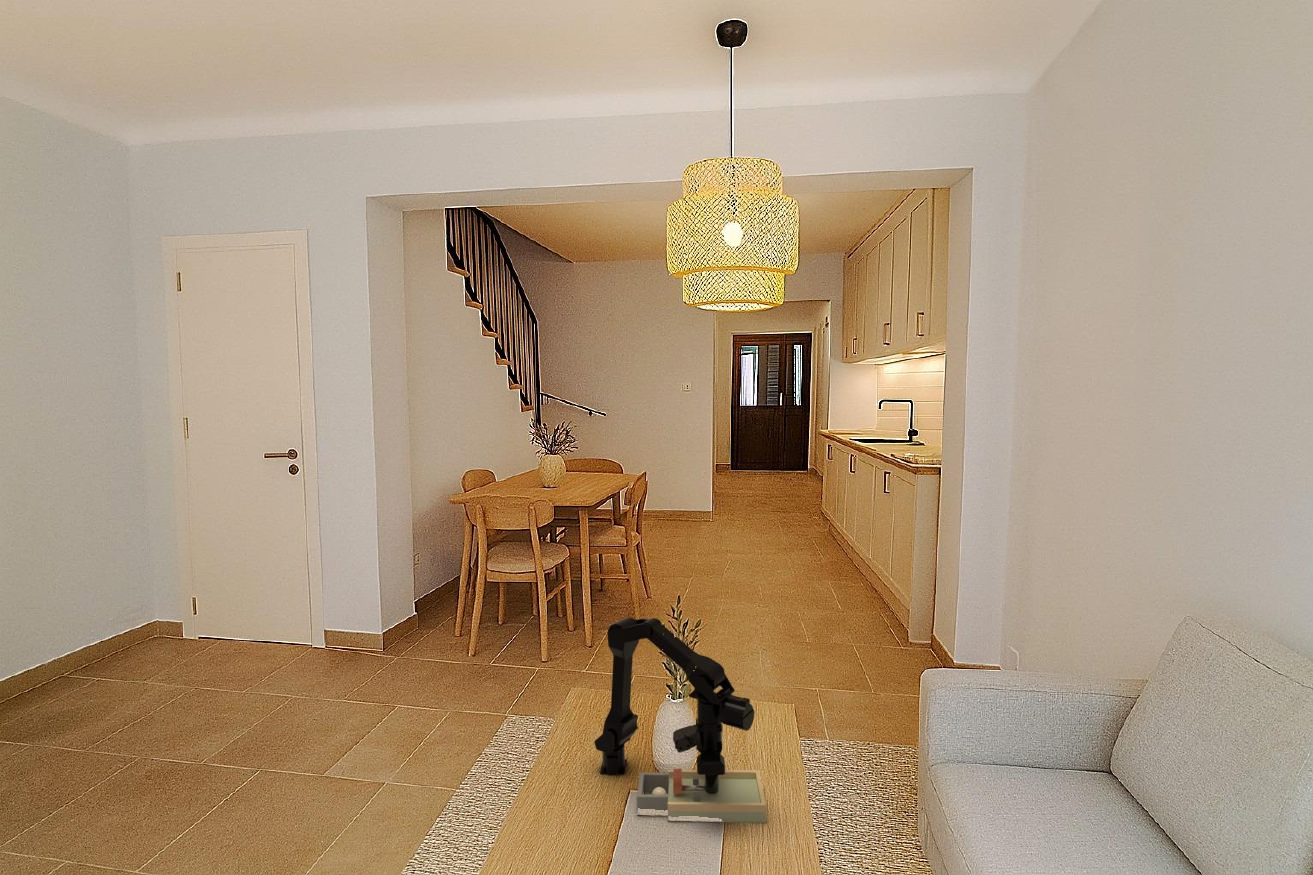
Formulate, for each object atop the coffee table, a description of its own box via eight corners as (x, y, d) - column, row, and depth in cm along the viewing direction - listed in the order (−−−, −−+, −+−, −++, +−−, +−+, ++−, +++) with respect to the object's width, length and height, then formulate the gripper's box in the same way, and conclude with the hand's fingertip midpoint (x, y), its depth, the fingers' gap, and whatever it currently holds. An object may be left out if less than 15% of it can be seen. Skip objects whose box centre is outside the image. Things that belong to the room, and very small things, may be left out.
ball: (664, 782, 163) (668, 796, 163) (650, 785, 163) (654, 799, 163) (664, 790, 159) (668, 805, 160) (649, 794, 160) (653, 809, 160)
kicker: (673, 785, 163) (673, 757, 162) (718, 786, 162) (718, 758, 162) (673, 794, 159) (673, 766, 159) (719, 795, 159) (718, 766, 158)
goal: (640, 790, 167) (640, 772, 166) (669, 790, 166) (668, 772, 166) (637, 815, 157) (637, 796, 156) (668, 815, 156) (667, 797, 156)
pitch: (669, 785, 168) (669, 768, 168) (759, 786, 167) (759, 769, 167) (667, 821, 154) (667, 803, 154) (765, 822, 153) (765, 804, 153)
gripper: (675, 699, 169) (676, 760, 170) (674, 738, 151) (674, 806, 152) (720, 699, 169) (721, 760, 170) (725, 738, 150) (725, 806, 151)
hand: (709, 782), depth 161 cm, fingers closed on kicker, 3 cm apart
